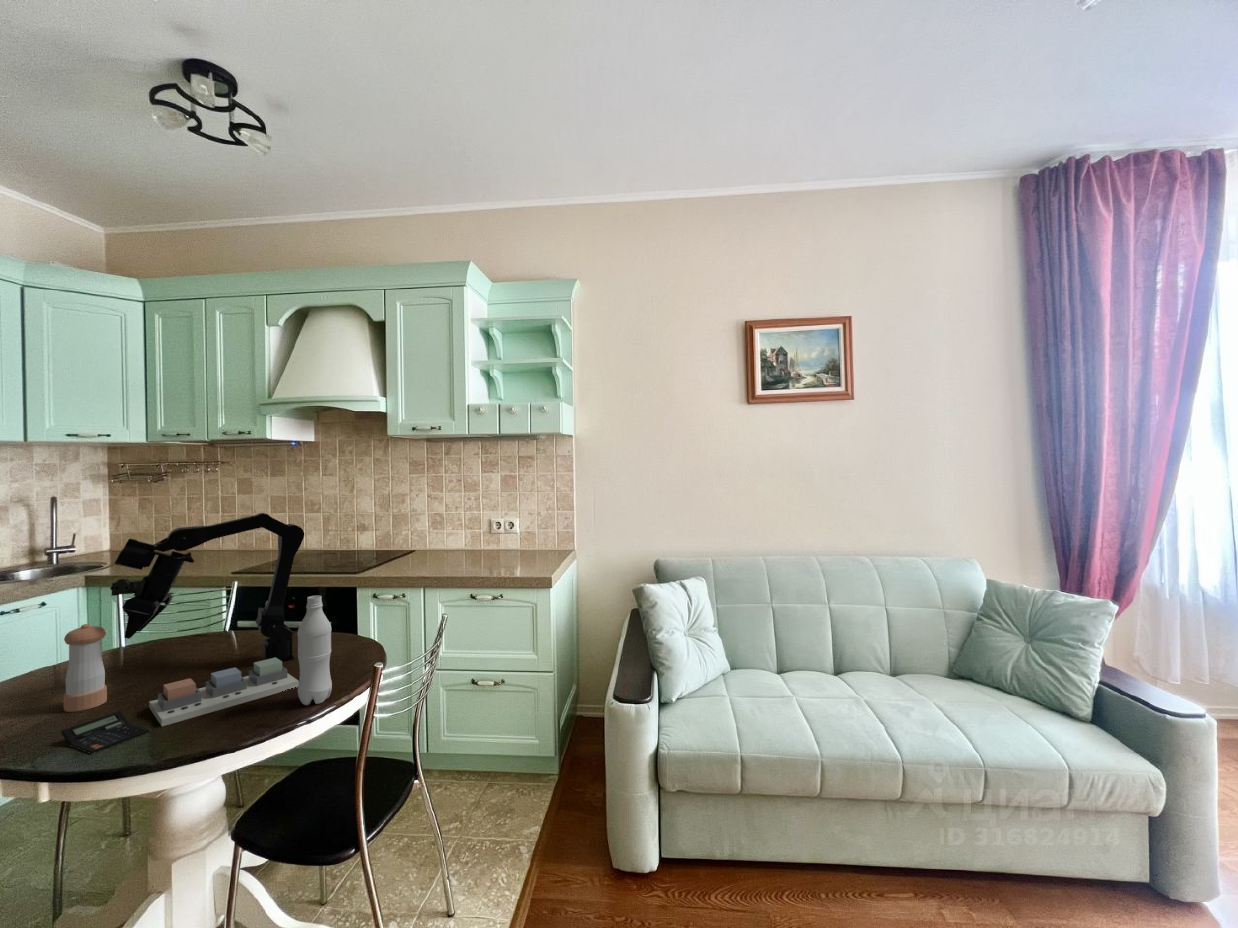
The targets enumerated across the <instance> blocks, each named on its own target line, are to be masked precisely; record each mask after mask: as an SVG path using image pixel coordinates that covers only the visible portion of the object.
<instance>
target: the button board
mask: <svg viewBox="0 0 1238 928" xmlns="http://www.w3.org/2000/svg"><path fill="white" fill-rule="evenodd" d="M298 686H299V680H298V679H297V678H295V677H294V676H293V675H291V674H290V673H288V669H287V668H286V667H284V666H283V665H282V671H278V672H274V673H270V674H267V675H263V676H258V675H256V674H255V673H254V669H251V670H248V675H246V676H242V675H241V681H240V682H236V683H232V684H229V685H225V686H221V687H217V688H215V687H214V686H213V685H212V684H211V680H209V681H205V686H203V687H201V688H198V687H197V686H196V693H194V694H191V695H187V696H183V697H179V698H175V699H172V700H168V701H167V699H166V698H165V697H164V692H161V693H160V692H159V693H157V699H155V700H149V701H148V702H149V710H150V711H151V713H152V714H153V716H154V717H155V718H156V720H157V721H158V724H160V726H161V727H165V726H168V725H172V724H176V723H179V722H182V721H186V720H190V719H193V718H196V717H199V716H203V715H206V714H209V713H213V712H217V711H220V710H224V709H227V708H230V707H234V706H237V705H240V704H244V703H247V702H251V701H254V700H258V699H262V698H265V697H268V696H272V695H275V694H278V693H281V692H282V691H283V692H286V691H288V690H287V689H290V690H292V689H291V688H293V689H296V688H298ZM295 687H296V688H295ZM285 690H286V691H285Z"/></svg>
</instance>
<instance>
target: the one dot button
mask: <svg viewBox="0 0 1238 928" xmlns="http://www.w3.org/2000/svg"><path fill="white" fill-rule="evenodd" d="M282 666H283V662H282V661H280V660H279V659H277V658H276V657H275V658H271V659H267V660H263V659H262V660H258V661H255V662H253V670H254V673H255V674H256V675H258V676H263V675H267V674H270V673H274V672H278V671H282Z"/></svg>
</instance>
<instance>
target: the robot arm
mask: <svg viewBox="0 0 1238 928" xmlns="http://www.w3.org/2000/svg"><path fill="white" fill-rule="evenodd" d="M261 528H263V529H264V530H267V531H269V532H271V533H273V534H275V535H277V550H278V552H277V553H278V555H277V560H276V563H275V568H274V573H273V578H272V582H271V585H270V589H269V590H270V591H269V595H268V598H267V599H268V600H267V602H266V604H265V606H264V607H258V610H257V618H256V619H255V620H254V622H255V624H256V626H257V628H258V630H259V632H260V633H261V635H263V636H264V637H265V638H267V639H264V644H263V646H262V661H263V660H267V659H271V658H275V657H276V658H277V659H279V660H280V661H282V663H284V662H286V661H290V660H293V659H295V658H296V656H294V655H293V635H294V632H293V631H292V630H291V629H290V628H289V626H288V625H286V624H285V607H284V604H285V599H286V596H287V595H286V594H287V590H288V585H289V581H290V577H291V572H292V569H293V568H292V567H293V564H294V559H295V556H296V555H297V553H298V551H299V550H300V547H301V544H302V543H303V541H304V539H305V531H304V529H303V528H302V527H301V526H299V525H296V524H295V523H287V524H286V523H284V522H282V521H280V520H278V519H276V518H273V517H272V516H271V515H269V514H268V513H266V512H260V513H259V512H258V513H257V514H255V515H250V516H246V517H241V518H238V519H232V520H229V521H224V522H219V523H214V524H209V525H196V526H185V527H184V526H183V527H177V528H174V529H172V530H171V531H170V532H169V534H168V535H167V537H165V538H164V539H161V540H160V541H157V542H156V543H147V542H144V541H141V540H138V539H135V538H131V537H130V538H128V539H127V541H126V543H125V545H124V547H123V548H122V549H121V550H120V552H119V554H118V555H117V557H116V559H115V561H114V563H113V565H116V566H120V567H125V568H126V567H127V568H129V569H136V570H140V571H141V570H143V568H149V567H150V566H151V564H152V563H153V560H154V559H155V557H156V556H157V558H156V559H155V561H154V563H153V565H152V567H151V569H150V571H149V573H148V574H147V575H145V576H144V577H143V578H142V579H134V580H129V578H124V579H123V578H119V579H117V581H114V582H112V583H111V587H110V588H109V589H110V591H111V595H110V596H112V597H114V596H119V595H130V594H131V595H132V594H133V597H130V598H128V599H126V600H125V601H124V604H123V605H122V611H123V612H124V613H125V614H126V616H127V624H126V628H125V632H124V638H125V639H128V640H129V639H131V638H132V637H133V636H134V635H135V634H136V633H137V632H139V633H140V632H141V631H142V630H143V629H145V628H146V627H147V626H148V625H149V624H150V623H151V622H152V621H154V619H155V618H157V616H159V615H160V614H161V613H162V612H163V611H164V610H165V609H166V608H167V607H168V605H170V604H171V601H172V599H173V596H172V593H170V591H171V590H172V588H173V585H175V584H176V582H177V580H176V579H177V578H178V575H179V573H180V571H181V569H182V568H183V565H184V563H186V562H187V563H191V564H193V563H194V562H195V559H194V558H193V557H192V552H191V551H189V552H185V553H182V552H183V551H188V550H191V549H194V548H195V547H198V546H200V545H203V544H205V543H206V542H209V541H212V540H216V539H219V538H223V537H228V536H232V535H236V534H240V533H244V532H247V531H252V530H257V529H261ZM168 551H171V552H170V553H166V552H168Z"/></svg>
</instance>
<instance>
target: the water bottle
mask: <svg viewBox="0 0 1238 928" xmlns="http://www.w3.org/2000/svg"><path fill="white" fill-rule="evenodd" d="M322 598H323V597H322V595H311V596H307V600H306V602H307V603H306V606H305V609H306V613H305V616H304V617H303V619H302V620H301V623H300V625H299V626H298V629H297V657H298V666H299V680H298V681H299V686H298V687H297V695H298V699H299V700H300V703H301V704H303V706H309V705H310V704H311V702H312V701H314V703H315V705H319V704H321V703H323V702H325V700H326V699H329V697H330V695H331V693H332V689H333V687H332V686H333V681H332V678H331V671H330V659H331V654H332V626H331V623H330V621H329V619H328V618H327V616H326V614H325V613H324V611H323V606H324V604H323V601H322Z"/></svg>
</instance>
